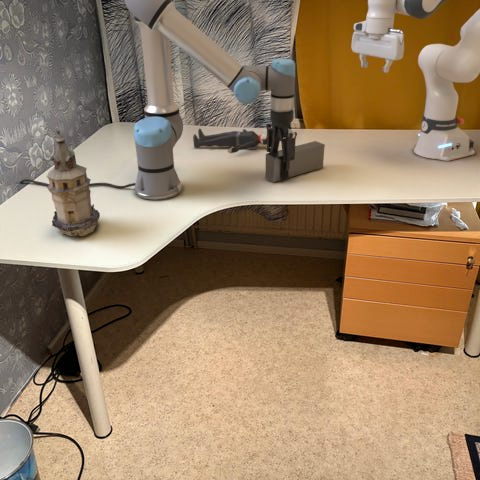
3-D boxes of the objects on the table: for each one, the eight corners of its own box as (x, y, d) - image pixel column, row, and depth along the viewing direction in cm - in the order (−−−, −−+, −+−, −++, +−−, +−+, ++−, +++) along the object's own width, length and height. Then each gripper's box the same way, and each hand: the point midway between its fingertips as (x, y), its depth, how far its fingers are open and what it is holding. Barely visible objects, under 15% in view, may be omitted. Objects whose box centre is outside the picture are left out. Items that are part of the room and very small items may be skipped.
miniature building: (80, 214, 164) (63, 117, 149) (111, 225, 157) (96, 125, 142) (44, 231, 154) (22, 130, 140) (75, 244, 147) (55, 139, 133)
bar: (273, 182, 182) (274, 157, 178) (265, 177, 186) (265, 153, 181) (322, 167, 193) (324, 144, 189) (314, 163, 197) (315, 140, 193)
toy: (204, 122, 226) (274, 122, 220) (205, 136, 229) (274, 137, 223) (186, 142, 204) (264, 143, 198) (188, 157, 207) (264, 159, 201)
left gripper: (308, 113, 170) (304, 181, 181) (273, 101, 183) (272, 165, 194) (290, 117, 166) (287, 186, 178) (256, 104, 179) (255, 170, 190)
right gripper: (411, 29, 170) (405, 73, 176) (363, 22, 184) (359, 64, 191) (397, 31, 166) (392, 76, 173) (350, 24, 181) (346, 66, 188)
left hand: (279, 175), depth 186 cm, fingers closed on bar, 5 cm apart
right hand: (374, 69), depth 182 cm, fingers open, 8 cm apart
